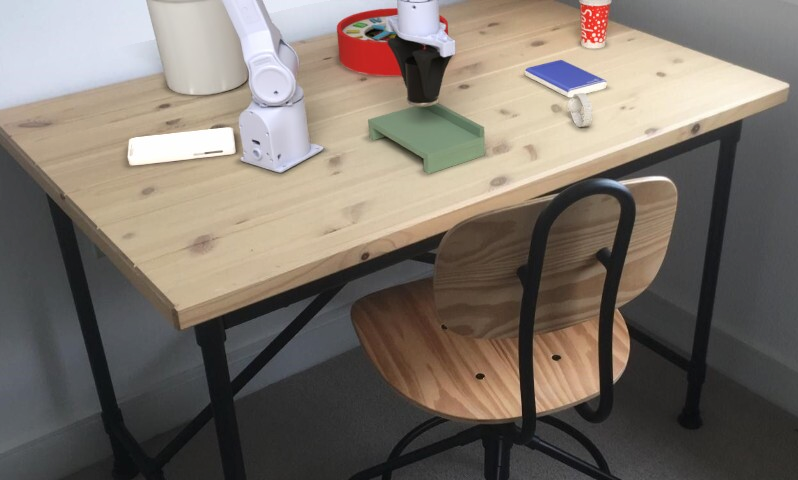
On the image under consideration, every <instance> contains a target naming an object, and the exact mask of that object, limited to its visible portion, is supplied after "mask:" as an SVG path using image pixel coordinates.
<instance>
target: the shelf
mask: <svg viewBox="0 0 798 480" xmlns="http://www.w3.org/2000/svg"><path fill="white" fill-rule="evenodd" d="M367 124H368V134H369V135H368V136H369V139H370V140H373V141H376V140H379V139H382V138H388V139H390V140H392V141H394V142H395V143H396V144H399V145H400V146H402V147H403V148H405V149H407V150H408V151H410V152H411V153H413V154H415V155H417V156H419V157H420V158H421V159H423V172H424V173H426V174H428V175H430V174H433V173H437V172H439V171H442V170H445V169H448V168H452V167H454V166H457V165H461V164H463V163H467V162H469V161H472V160H475V159H478V158H481V157H484V156H485V155H486V153H485V151H486V150H485V149H486V148H485V145H486V144H485V127H484V126H483V125H481V124H479V123H477V122H476V121H473V120H472V119H470V118H468V117H466V116H463V115H462V114H460V113H458V112H456V111H454V110H452V109H450V108H448V107H447V106H444V105H443V104H441V103H439V102H437V103H436V104H434V105H431V106H426V107H418V106H413V105H412V106H410V107H406V108H403V109H400V110H396V111H393V112H389V113H385V114H382V115H379V116H375V117H372V118H369V119H367Z"/></svg>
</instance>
